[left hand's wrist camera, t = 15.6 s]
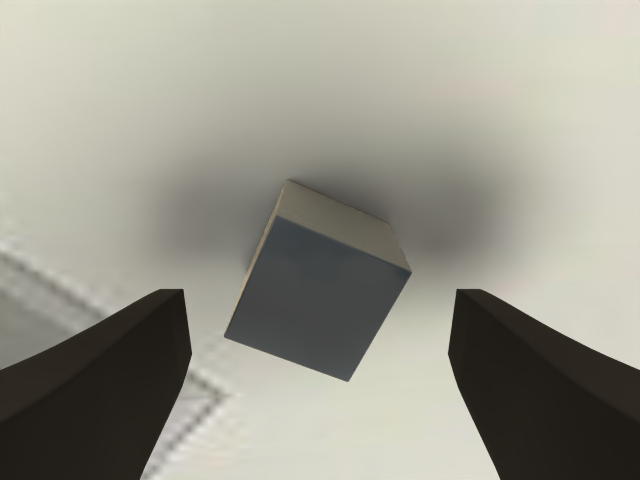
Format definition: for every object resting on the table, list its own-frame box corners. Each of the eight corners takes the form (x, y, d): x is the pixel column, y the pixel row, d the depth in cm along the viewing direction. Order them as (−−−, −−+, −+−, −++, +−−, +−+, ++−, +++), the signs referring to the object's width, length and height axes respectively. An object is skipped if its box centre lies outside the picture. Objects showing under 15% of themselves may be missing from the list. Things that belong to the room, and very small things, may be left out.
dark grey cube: (245, 275, 16) (222, 337, 12) (286, 178, 14) (275, 214, 11) (341, 312, 16) (348, 383, 13) (389, 223, 15) (413, 272, 11)
